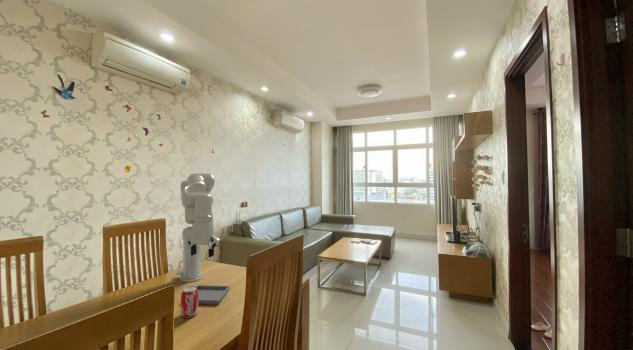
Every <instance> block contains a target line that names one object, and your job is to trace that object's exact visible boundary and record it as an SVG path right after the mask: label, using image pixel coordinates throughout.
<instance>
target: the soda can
mask: <svg viewBox="0 0 633 350" xmlns="http://www.w3.org/2000/svg"><path fill="white" fill-rule="evenodd" d="M196 286H197V285H196ZM196 286H195V285H189V286H186V287H184V288H183V289H182V292H181V295H180V316H181V317H183V318H184V319H189V318H193V317H194V316H195V315H196V314H197V313H198V312H199V311H198V309H199V304H198V290H197V287H196Z"/></svg>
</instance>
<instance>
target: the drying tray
mask: <svg viewBox="0 0 633 350" xmlns="http://www.w3.org/2000/svg"><path fill="white" fill-rule="evenodd" d="M196 287H197V290H198V305H201V306H203V305H206V306H207V305H208V306H209V305H211V306H219V305H220V304H221V302H222V301H223V300H224V298H226V295H227V294H228V293H229V292H230V290H231V288H230V287H231V285H212V284H211V285H210V284H207V285H206V284H205V285H203V284H197V285H196Z"/></svg>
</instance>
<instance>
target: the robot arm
mask: <svg viewBox="0 0 633 350" xmlns="http://www.w3.org/2000/svg"><path fill="white" fill-rule="evenodd" d="M215 183H216V182H215V177H214V175H213V174H212V173H198V172H196V173H195V172H194V173H191V174H189V176H188V177H187V179H186V180H182V181H181V182H180V186H179V187H180V193H181V196H180V198H181V200H180V201H181V205H182V207H183V208H184V221H185V223H186V224H187V225H191V226H187V227H185V228H184V229H183V230H182V232H181V233H182V234H181V236H182V242H183V243H182V244H183V253H182V256H183V257H182V259H183V260H182V262H183V263H182V270H180V269H179V270H177V271H176V276H179V277H180V278H179V281H180V282H183V283H191V282H192V283H193V282H196V281H199V280H201V279H203V276H204V274H203V273H202V272H201V258H202V257H201V255H202V253H201V252H202V251H201V250H202V249H201V246H208V258H212V257H214V256H215V248H216V246H217V245H218V244H219V241H220V239H219V238H218V237H217V236H215V232H214V231H215V230H214V214H213V210H212V209H213V207H212V206H213V204H214V196H213V195H212V194H211V192H212V191H213V188H214V186H215ZM200 245H201V246H200Z"/></svg>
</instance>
